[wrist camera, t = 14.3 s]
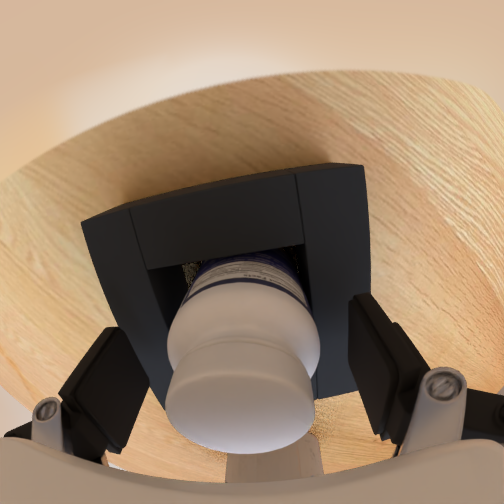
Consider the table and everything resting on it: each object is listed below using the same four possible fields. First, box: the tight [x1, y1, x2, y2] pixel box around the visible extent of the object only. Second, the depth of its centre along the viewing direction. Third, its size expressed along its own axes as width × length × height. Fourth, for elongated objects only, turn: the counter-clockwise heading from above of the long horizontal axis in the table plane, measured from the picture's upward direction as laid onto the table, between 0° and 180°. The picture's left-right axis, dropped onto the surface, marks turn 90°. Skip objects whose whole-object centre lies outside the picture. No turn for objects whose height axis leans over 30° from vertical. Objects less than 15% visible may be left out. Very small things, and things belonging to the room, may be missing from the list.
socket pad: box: [81, 163, 371, 410], centre depth 12 cm, size 11×11×4 cm
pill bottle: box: [165, 248, 320, 454], centre depth 10 cm, size 5×5×9 cm
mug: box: [225, 432, 324, 483], centre depth 16 cm, size 12×9×10 cm
